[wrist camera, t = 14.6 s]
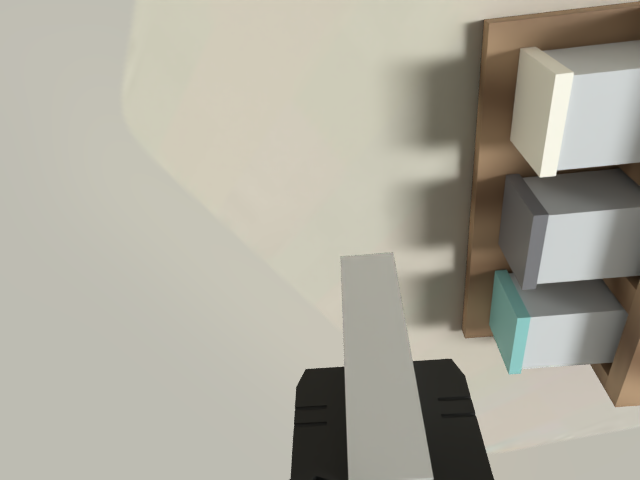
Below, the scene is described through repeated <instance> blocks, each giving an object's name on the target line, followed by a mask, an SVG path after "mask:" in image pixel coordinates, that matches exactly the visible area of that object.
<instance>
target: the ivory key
mask: <svg viewBox="0 0 640 480" xmlns="http://www.w3.org/2000/svg"><path fill="white" fill-rule="evenodd" d="M510 141H511V142H512V143H513V144H514V146H515V147H516V148H517V149H518V151H519V152H520V153H521V155H522V156H523V157H524V158H525V160H526V161H527V162H528V163H529V165H530V166H531V167H532V168H533V170H534V171H535V172H536V173H537V175H538V176H539V177H550V176H556V172H557V170H567V169H577V168H588V167H598V166H608V165H619V164H629V163H639V162H640V40H634V41H625V42H616V43H607V44H598V45H589V46H581V47H572V48H563V49H554V50H545V51H542V50H540V49H539V48H537V47H527V48H520V56H519V64H518V73H517V82H516V91H515V100H514V109H513V117H512V126H511V135H510Z"/></svg>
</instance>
